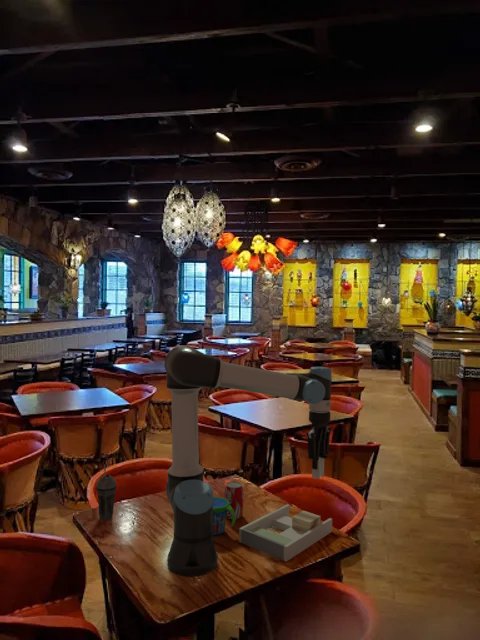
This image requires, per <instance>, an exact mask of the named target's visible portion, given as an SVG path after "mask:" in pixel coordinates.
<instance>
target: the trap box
mask: <svg viewBox="0 0 480 640" xmlns="http://www.w3.org/2000/svg"><path fill="white" fill-rule="evenodd" d="M290 508H291V507H290V504H288V503H287V504H285V505H283V506H282V507H279V508H277V509H275V510H273V511H271V512H269V513H267V514H266V515H265V514H264V515H263V516H262V517H259V518H258V519H257V518H256V519H255V520H253V521H251V522H249V523H248V524H246V525H243V526H241V527H239V528H238V542H239V543H241V544H243V545H245V546H247V547H251V548H252V549H255V550H257V551H260V552H262V553H265V554H267V555H270V556H272V557H274V558H277V559H279V560H282V561H283V562H288V561H289V560H291V559H293V558H294V557H296V556H297V555H298V554H300V553H302V552H303V551H305V550H307V549H308V548H310V547H311V546H313V545H314V544H315V543H317V542H319V541H320V540H321V539H323V538H325V537H326V536H327V535H329V534H331V533H332V532H333V518H332V517H329V518H327V519H326V520H324V521H323V522H320V524H319V525H318V526H316V527H314V528H313V529H311V530H309V531H308V532H306V533H304V532H301V531H299V530H296V529H293V528H292V517H290ZM272 526H273V527H272ZM275 527H276V528H275ZM269 528H275V529H278V530H280V529H281V530H280V531H281V532H280V533H276V532H273V531H270V530H268V529H269ZM283 530H284V531H283Z"/></svg>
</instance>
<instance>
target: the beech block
mask: <svg viewBox="0 0 480 640" xmlns="http://www.w3.org/2000/svg"><path fill="white" fill-rule="evenodd" d="M291 518H292V528H293V529H296V530H299V531H301V532H304V533H306V532H308V531H309V530H311V529H313V528H314V527H316V526H318V525H319V524H321V523H322V522H321V515H318V514H314V513H312V512H309V511H306V510H301V511H300V512H298V513H296V514H294V515H293V516H292V517H291Z"/></svg>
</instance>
